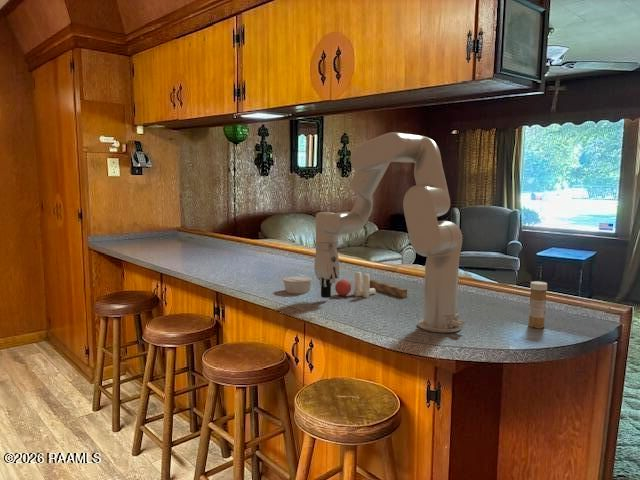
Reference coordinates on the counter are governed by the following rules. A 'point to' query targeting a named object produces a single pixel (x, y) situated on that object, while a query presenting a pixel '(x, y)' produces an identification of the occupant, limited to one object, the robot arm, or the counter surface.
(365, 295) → the near pin
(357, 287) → the far pin
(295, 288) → the ramekin
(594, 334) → the counter surface
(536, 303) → the sprinkles bottle
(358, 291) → the front pin
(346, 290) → the ball
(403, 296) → the walnut rail
